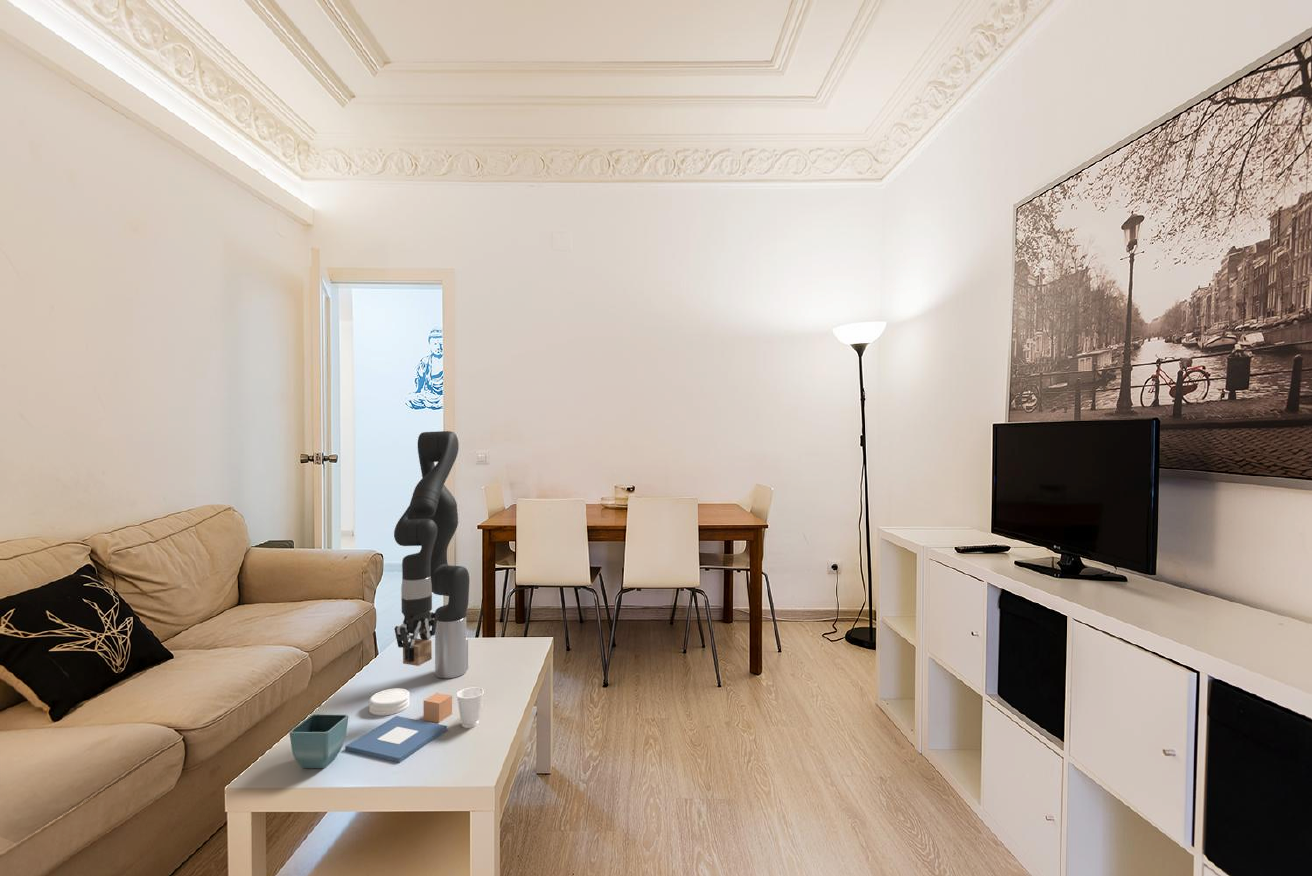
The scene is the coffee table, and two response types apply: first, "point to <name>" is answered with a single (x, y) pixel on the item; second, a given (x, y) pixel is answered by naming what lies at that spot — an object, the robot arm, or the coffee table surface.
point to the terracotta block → (437, 707)
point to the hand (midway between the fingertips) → (417, 657)
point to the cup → (470, 705)
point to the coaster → (389, 702)
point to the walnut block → (420, 652)
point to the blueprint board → (396, 738)
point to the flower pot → (318, 739)
